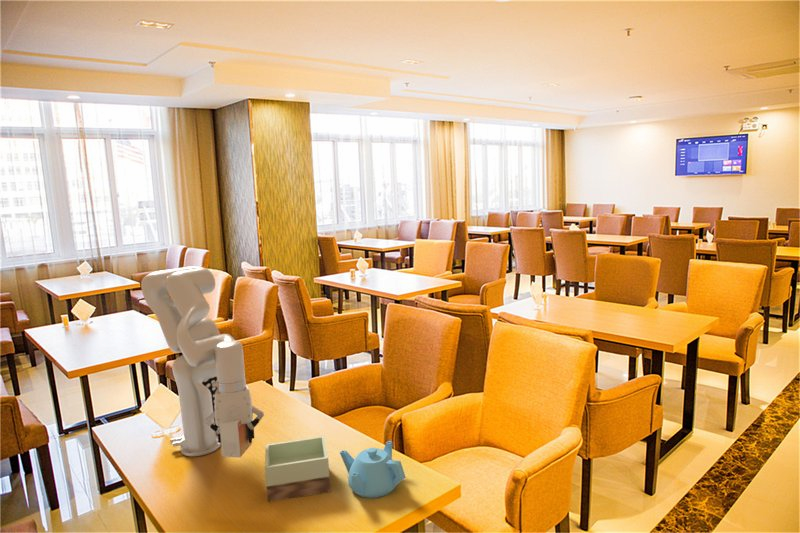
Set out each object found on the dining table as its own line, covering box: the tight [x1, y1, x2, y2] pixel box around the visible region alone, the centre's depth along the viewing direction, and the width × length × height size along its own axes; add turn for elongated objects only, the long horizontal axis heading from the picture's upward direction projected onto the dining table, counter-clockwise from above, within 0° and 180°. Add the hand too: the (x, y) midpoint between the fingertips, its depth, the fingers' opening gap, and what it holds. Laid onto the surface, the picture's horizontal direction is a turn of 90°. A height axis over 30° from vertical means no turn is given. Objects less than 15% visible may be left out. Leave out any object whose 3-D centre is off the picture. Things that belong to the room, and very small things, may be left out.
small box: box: [220, 420, 253, 458], centre depth 153 cm, size 8×6×10 cm
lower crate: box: [266, 476, 332, 503], centre depth 150 cm, size 17×13×4 cm
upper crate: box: [264, 435, 330, 488], centre depth 149 cm, size 17×13×5 cm
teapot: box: [339, 440, 407, 499], centre depth 146 cm, size 15×15×11 cm
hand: (236, 442), depth 154 cm, fingers closed on small box, 7 cm apart
